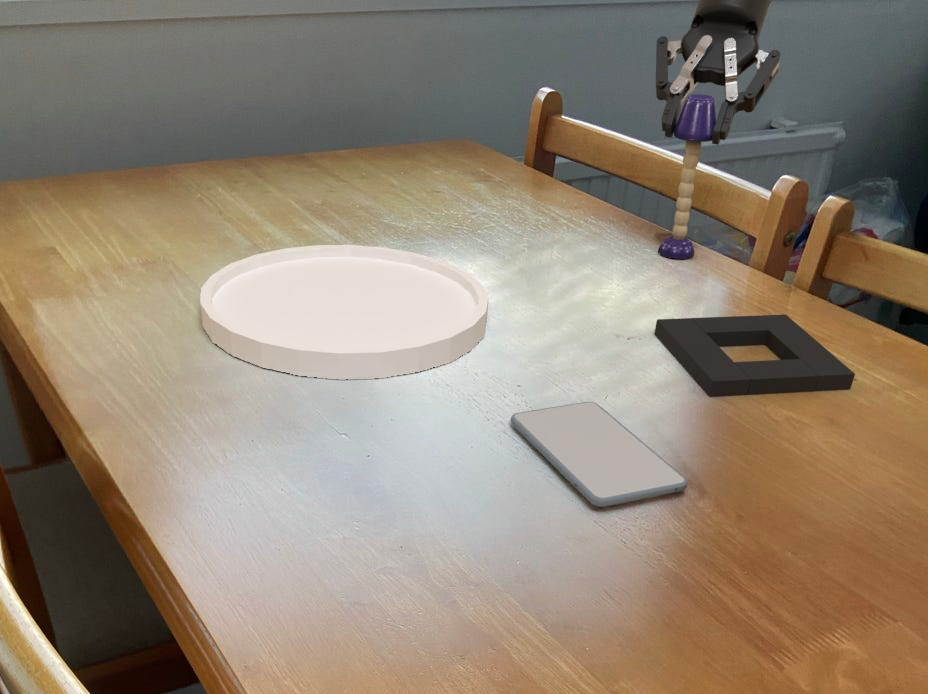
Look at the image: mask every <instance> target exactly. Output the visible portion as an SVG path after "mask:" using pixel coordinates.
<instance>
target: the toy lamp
mask: <svg viewBox="0 0 928 694" xmlns="http://www.w3.org/2000/svg"><path fill="white" fill-rule="evenodd" d="M715 101H716V100H715V98H714V97H713V96H712V95H709V94H699V93H697V94H695V93H694V94H690V95H689V94H688V95H687V97H686V98H685V100H684V103H683V105H682V107H681V111H680V114H679V117H678V120H677V123H676V127H675V129H674V133H673V136H674V138H676V139H677V140H681V141H685V144H684V150H685V153H684V155H683V157H682V166H683V167H682V168H681V171H680V182H679V185H678V189H677V192H678V197H677V199H676V203H675V206H676V211H675V213H674V218H673V219H674V224H673V226H672V235H670V236H667V237H666V238H664V239H663V240H662V242H660V244H659V247H658V249H657V252H659V253H660V254H661V255H660V254H659V253H658V254H659V255H660V256H662V255H664V256H666V257H665V258H667V257H671V258H675V259H674V260H687V258H688V259H691V258H693V257H694V256H695V247H694V244H693V242H692V241H691V239H689V238H688V237H687V235H688V230H689V229H688V224H689V221H690V216H691V213H690V209H691V208H692V204H693V198H692V196H693V194H694V192H695V183H694V182H695V181H696V178H697V166H698V165H699V161H700V155H699V153H700V151H701V149H702V143H705V142H712V135H713V130H714V127H715V123H716V120H717V113H716V102H715ZM664 256H663V257H664ZM671 258H670V259H671Z"/></svg>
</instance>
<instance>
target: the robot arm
mask: <svg viewBox="0 0 928 694" xmlns="http://www.w3.org/2000/svg"><path fill="white" fill-rule="evenodd" d="M772 1H773V0H698V3H697V5H696V9H695V11H694V15H693V17H692V21H691V24H690V26H689V29H688V31H687V32H686V33H685V34H684V35H683V36H682V38H681V39H678V40H671V41H669V40H668V37H667V36H664V35H661V36H660V37H658V38H657V40H656V57H655V61H656V62H655V93H656V94H655V95H656V99H657V100H658V101H665V106H664V109H663V112H662V115H661V131H662V132H664V137H665V138H673V136H674V129H675V127H676V124H677V121H678V119H679V116H680V113H681V111H682V104H683V102H685V101H686V99H687V97H688V96H689V94H692V92H693V91H694V90H695V89H696V87H697V86H698V85H699V83H700V84H707V83H708V84H710V83H711V84H714V85H717V86H723V88H724V89H723V90H724V91H723V92H724V93H723V94H724V101H722V102H721V104H720V108H719V111H718V114H717V116H716V123H715V127H714V130H713V135H712V140H711V144H712V145H717V146H719V145H720V143H721V141H725V140H726V139H727V138H728V136H729V133H730V129H731V127H732V123H733V121H734V117H735V115H736V114H737V113H738V112H742V111H744V112H745V113H752V112H754V111H755V109H756V107H757V106H758V105H759V103H760V101H761V100H762V98H763V96H765V95H764V94H765V93H766V92H767V90H768V88H769V87H770V86H771V84H772V82H773V80H775V78H776V76H777V74H778V72H779V69H780V63H781V62H780V60H781V52H780V50H778V49H772V50H771V51H769V52H767V51H764V50H762V49H760V44H759V39H760V36H761V32H762V29H763V26H764V23H765V19H766V17H767V13H768V10H769V8H770V4H771V2H772ZM680 54H681V56H682V58H683V60H684V63H683V65H682V67H681V69H680V72H679V74H678V75H677V76H676V78H675V80H674V81H673V82H670V81H669V66H672V65H673V64H674V62H675V61H676V58H677V56H678V55H680ZM754 64H755V65H756V67H755V75H754V76H753V78H752V79H751V81H750V83H749V84H748V85H747V87H746V89H745V90H744V91H740V92H739V90H738V89H739V88H738V77H739V76H740V75H742V74H743V73H744V72H745V71H747V70H748V69H749V68H750V67H751V66H753V65H754Z"/></svg>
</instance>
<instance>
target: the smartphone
mask: <svg viewBox="0 0 928 694" xmlns="http://www.w3.org/2000/svg"><path fill="white" fill-rule="evenodd" d="M510 424H511V425H512V426H513V427H514V428H515V429H516V431H518V432H519V433H520V434H521V435H522V436H523V437H524V438H525V439H526V440H527V441H528V442H529V443H530V444H531V445H532V446H533V447H534V448H535V449H536V450H537V451H538V452H539V453H540V454H541V456H543V457H544V458H545V459H546V460H547V461H548V462H549V463H550V464H551V466H553V467H554V468H555V469H556V470H557V471H558V472H559V473H560V474H561V475H562V476H563V477H564V478H565V479H566V480H567V481H568V482H569V483H570V484H571V485H572V486H573V487H574V488H575V489H576V490H577V491H578V492H579V493H580V494H581V495H582V496H583V497H584V498H585V499H587V501H588V502H589V503H590V504H591V505H593V506H595V507H599V508H600V507H601V508H605V507H609V506H614V505H615V506H616V505H620V504H625V503H630V502H635V501H639V500H645V499H650V498H654V497H656V498H657V497H661V496H665V495H671V494H674V493H679V492H683V491H685V490H686V489H687V487H688V480H687V478H686V477H685V476H683V475H682V474H681V473H680V471H678V470H676V469H675V468H674V467H673V466H672V465H671V464H670V463H669V462H667V461H666V460H665V459H663V457H661V456H660V455H659V454H658V453H657V452H656V451H654V450H653V449H651V448H650V447H649V446H648V445H647V444H646V443H645V442H643V441H642V440H641V439H640V438H639V437H638V436H636V435H635V434H634V433H633V432H632V431H631V430H629V429H628V428H627V427H625V425H624V424H622V423H621V422H620V421H618V419H616V418H615V417H614V416H613V415H611V414H610V413H609V412H608V411H606V410H605V409H604V408H603V407H602V406H601V405H600V404H598V403H596V402H593V401H584V402H578V403H577V402H576V403H570V404H564V405H558V406H551V407H546V408H539V409H533V410H527V411H521V412H520V411H519V412H516V413H513V414H512V415H511V416H510Z"/></svg>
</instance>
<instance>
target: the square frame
mask: <svg viewBox="0 0 928 694" xmlns="http://www.w3.org/2000/svg"><path fill="white" fill-rule="evenodd" d="M654 336H655V337H656V339H658V341H659V342H660V343H661V344H662V345H663V347H665V348H666V350H667V351H668V352H669V353H670V354H671V356H673V357H674V359H675V360H676V361H677V362H678V363H679V365H681V367H682V368H683V369H684V370H685V371H686V372H687V374H688V375H689V376H690V377H691V378H692V379H693V380H694V382H695V383H696V384H697V385H698V387H700V388H701V389H702V391H703V392H704V393H705V394H706V395H707V396H708V397H709V398H717V397H718V398H720V397H721V398H722V397H738V396H756V395H757V396H758V395H775V394H793V393H794V394H795V393H813V392H831V391H849V390H851V388H852V385H853V382H854V379H855V376H856V373H855V372H853V370H851V369H850V368H849V366H847V365H846V364H844V363H843V362H842V361H841V360H840V359H838V358H837V357H836V356H835V355H834V354H833V353H831V351H829V350H828V349H827V348H826V347H824V345H822V344H821V342H820V341H819V342H818V341H817V340H816V339H815V338H814V336H811V334H809V333H808V332H807V331H806V330H804V328H802V326H800V325H799V324H798V323H797V322H795V321H794V320H793V319H792V318H791V317H790V316H789V315H787V314H766V315H765V314H763V315H761V314H759V315H736V316H735V315H734V316H709V317H708V316H707V317H705V316H704V317H685V318H684V317H682V318H659V319H656V323H655V327H654ZM752 346H765V347H766V348H767V349H768V350H769V351H771V353H773V354H774V355H775V356H776V357H777V358H778V359H772V360H771V359H770V360H750V361H734V360H733V359H732V358H731V357H730V356H729V355H727V353H726V352H725V351H724V350H723V349H722V348H728V347H729V348H730V347H731V348H733V347H752Z"/></svg>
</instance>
